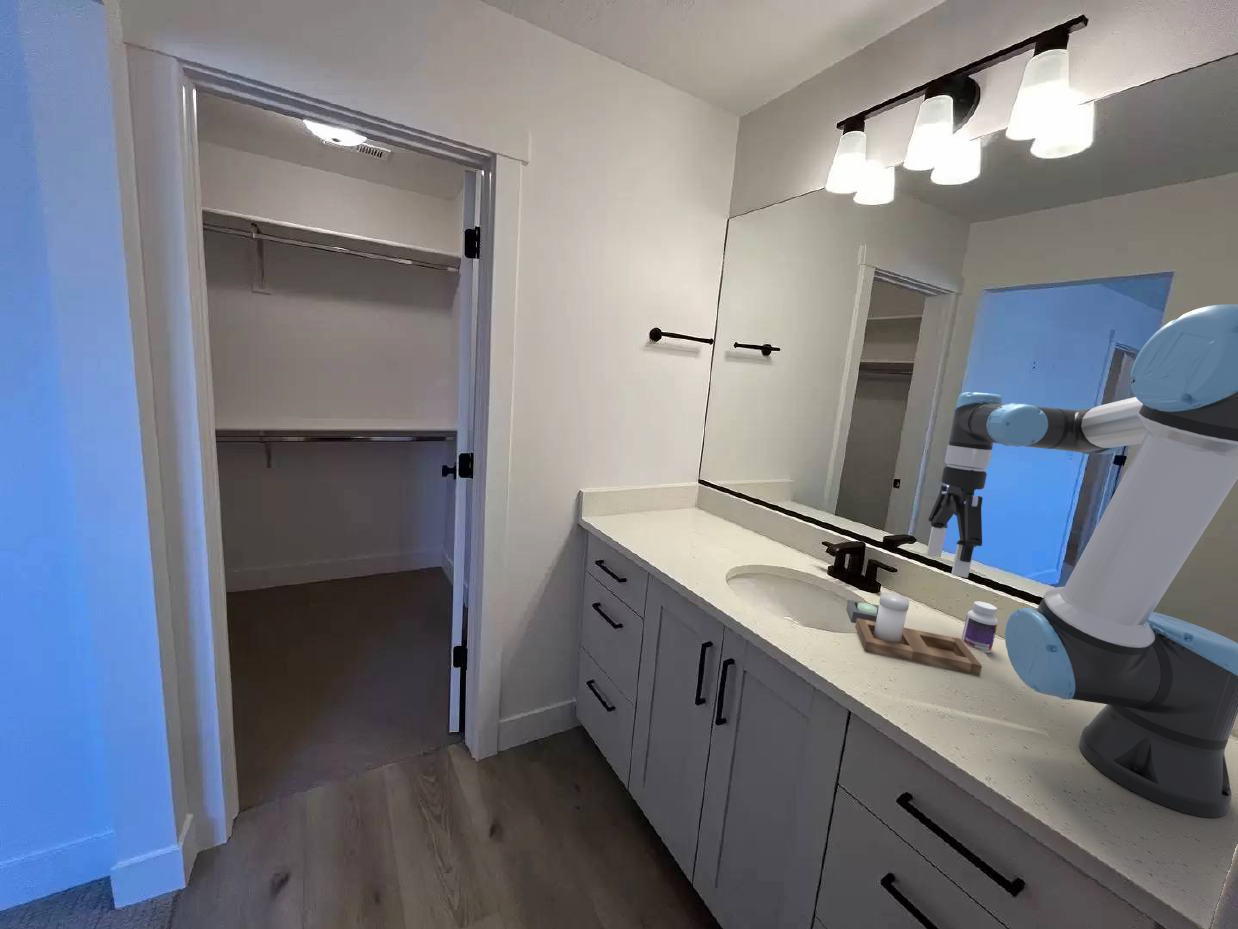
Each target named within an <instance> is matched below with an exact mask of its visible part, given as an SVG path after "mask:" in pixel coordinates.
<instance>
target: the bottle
mask: <svg viewBox="0 0 1238 929" xmlns="http://www.w3.org/2000/svg"><path fill="white" fill-rule="evenodd" d="M909 606H910V600H909V599H908V598H906V597H905V596H902V595H900V594H897V593H893V592H882V593H880V596H879V609H878V614H877V619H876V625H875V630H874V635H873V638H874V639H879V640H884V641H889V642H894V643H899V644H901V639H902V634H903V629H904V628H905V624H906V619H907V612H908V610H909Z"/></svg>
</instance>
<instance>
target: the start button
mask: <svg viewBox="0 0 1238 929" xmlns="http://www.w3.org/2000/svg"><path fill="white" fill-rule="evenodd" d="M871 604H872V603H869V604H868V602H864V603H858V606H857V610H858V611H862V612H867V613H872V614H876V613H877V608H876V607H875V606H873V605H871Z"/></svg>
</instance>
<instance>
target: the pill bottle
mask: <svg viewBox="0 0 1238 929" xmlns="http://www.w3.org/2000/svg"><path fill="white" fill-rule="evenodd" d="M997 609H998V608H997V607H996V605H993V604H991V603H988V602H984V601H979V600H977V601H974V602H973V605H972V610H971V609H970V610H969V611H968V612H967V614H966V618H965V622H964V626H963V630H962V631H963V632H962V635H961V640H962V642H963V643H964V644H965V645H968V646H971V647H973V648H976V649H980V650H982V651H983V653H984V654H990V653H991V652H992V649H993V645H994V640H995V637H996V632H997V628H998V624H999V621H998V619H997V617H996V614H997Z"/></svg>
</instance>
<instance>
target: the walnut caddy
mask: <svg viewBox="0 0 1238 929" xmlns="http://www.w3.org/2000/svg"><path fill="white" fill-rule="evenodd" d="M875 625H876V622H874V621H869V620H864V619H859V618H857V620H856V623H855V630H856V632H857V634H858V638H859V640H860V641H861V646H862V647H863V650H864V652H868V653H872V654H877V655H881V656H887V657H891V658H895V659H900V660H903V661H904V660H905V661H909V662H912V663H913V662H914V663H919V664H923V665H929V666H934V667H937V668H942V669H945V670H952V671H956V672H962V673H966V674H970V675H974V676H981V672H982V667H983V664H981V663H980V661H979V660H978V659H977V658H976V657H975V655H974V654H973V653H972V652H971V650H970V649H969V648H968V646H967V644H966V643H965V642H964V641H963V640H962V638H958V637H955V636H949V635H943V634H938V633H933V632H928V631H923V630H918V629H915V628H908V627H904V629H903V634H902V639H901V644H899V643H894V642H889V641H884V640H879V639H874V638H873V635H874V630H875Z"/></svg>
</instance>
